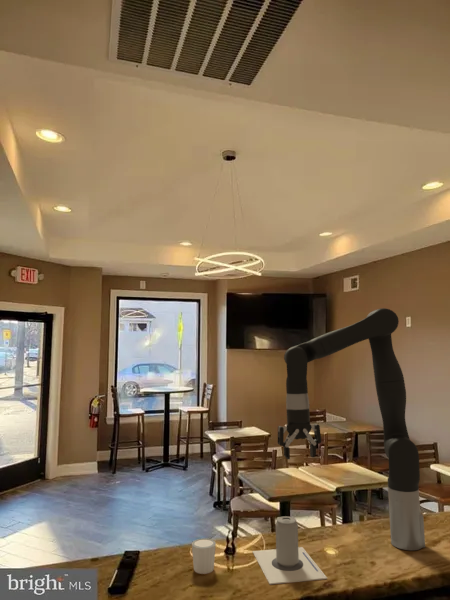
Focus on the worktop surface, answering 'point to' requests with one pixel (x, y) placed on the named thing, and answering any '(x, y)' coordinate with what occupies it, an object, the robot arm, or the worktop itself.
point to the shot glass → (203, 555)
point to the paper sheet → (288, 568)
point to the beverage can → (287, 541)
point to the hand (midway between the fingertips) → (300, 457)
